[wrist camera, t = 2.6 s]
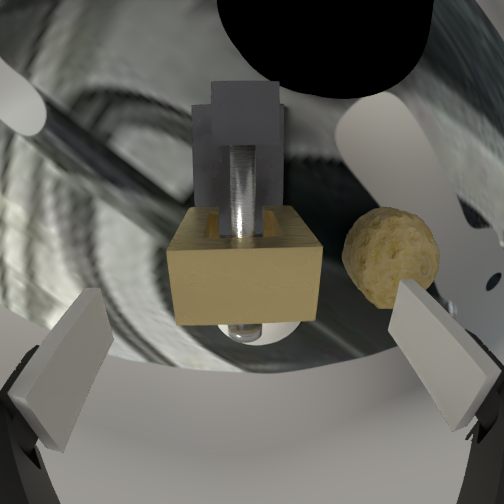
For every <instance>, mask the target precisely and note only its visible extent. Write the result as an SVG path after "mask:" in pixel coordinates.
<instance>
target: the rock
mask: <svg viewBox="0 0 504 504" xmlns="http://www.w3.org/2000/svg"><path fill="white" fill-rule="evenodd" d="M346 236H347V237H346V239H345V244H344V249H343V252H342V261H343V263H344V266H345V269H346V270H347V273H348V275H349V276H350V278H351V279H352V281H353V283H354V284H355V285H356V286H357V288H358V289H359V290H361V291H362V293H363V294H364V295H365V298H367V300H369V301H370V302H371V303H373V304H374V305H375V306H376V307H377V308H379V309H386V308H388V309H391V308H394V304H395V300H396V296H397V291H398V287H399V282H400V280H408V279H414V280H415V281H416V282H417V283H418V284H419V285H420V286H421V287H422V288H423V289H424V290H426V289H427V288H428V287H429V286H430V285H431V283H432V282H433V281H434V279H435V276H436V273H437V271H438V265H439V249H438V245H437V244H436V243H435V240H434V238H433V236H432V233H431V231H430V229H429V228H428V227H427V226H426V224H425V223H424V221H423V220H422V219H420V218H419V217H418V216H417V215H414V214H410V213H408V212H406V211H400V210H398V209H393V208H390V207H380V208H377V209H373V210H371V211H369V212H367V213H366V214H365V215H363V216H361V217H359V219H358V220H357V221H356V222H355V223H354V225H353V227H352V228H351V229H350V230H349V233H348V234H347V235H346Z"/></svg>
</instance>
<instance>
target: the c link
mask: <svg viewBox="0 0 504 504" xmlns="http://www.w3.org/2000/svg"><path fill="white" fill-rule="evenodd" d="M166 252H167V261H168V269H169V277H170V285H171V292H172V299H173V306H174V312H175V319H176V325H234V324H262V323H283V322H299V321H314V320H315V318H316V310H317V302H318V293H319V284H320V274H321V264H322V253H323V246H322V245H321V244H320V242H319V241H318V240H317V238H316V237H315V236H314V234H313V233H312V232H311V230H310V229H309V228H308V226H307V225H306V224H305V223H304V221H303V220H302V219H301V217H300V216H299V215H298V214H297V212H296V211H295V210H294V208H293V207H292V206H291V205H283V206H262V237H240V238H220V231H219V207H193V208H189V210H188V212H187V213H186V215H185V217H184V219H183V221H182V222H181V224H180V226H179V228H178V230H177V232H176V234H175V235H174V237H173V239H172V241H171V243H170V245H169V247H168V249H167V251H166Z"/></svg>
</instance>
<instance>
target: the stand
mask: <svg viewBox="0 0 504 504" xmlns="http://www.w3.org/2000/svg"><path fill="white" fill-rule="evenodd" d="M192 150H193V178H194V200H195V207H219V231H220V235H232V238H240V237H256V234H262V206H283V172H284V104H279V81H214V82H211V104H208V105H192ZM228 335H229V337H230V338H231V339H232V340H234V341H236V342H240V343H249V342H253V341H256V340H258V339H259V338H260V337H261V335H262V324H234V325H228Z"/></svg>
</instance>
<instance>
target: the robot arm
mask: <svg viewBox="0 0 504 504" xmlns="http://www.w3.org/2000/svg"><path fill="white" fill-rule="evenodd" d="M388 331H389V333H390V334H391V336H392V337H393V339H394V340H395V342H396V343H397V345H398V346H399V348H400V349H401V350H402V352H403V354H404V355H405V357H406V358H407V360H408V361H409V363H410V364H411V366H412V367H413V369H414V370H415V372H416V373H417V375H418V376H419V378H420V380H421V381H422V383H423V384H424V386H425V387H426V389H427V391H428V392H429V394H430V395H431V397H432V399H433V400H434V402H435V404H436V405H437V407H438V408H439V410H440V412H441V413H442V415H443V417H444V419H445V420H446V422H447V423H448V425H449V427H450V429H451V430H452V432H454V431H456V430H459V429H461V428H463V427H466V426H467V425H468V424H469V423H470V421H471V420H472V418H473V417H474V415H475V416H476V417H477V419H478V421H477V423H476V424H475V425H474V427H473V428H472V430H471V431H470V432H469V434H468V435H467V437H466V439H465V440H468V439H469V438H470V436H471V435H472V434H473V438H472V440H471V441H472V444H471V450H470V454H469V459H468V464H467V468H466V472H465V476H464V480H463V484H462V487H461V491H460V494H459V497H458V501H457V504H504V366H503V365H502V363H501V362H500V361H499V360H498V359H497V358H496V357H495V356H494V354H492V352H491V351H489V350H488V348H487V347H486V346H485V345H483V343H482V342H481V340H480V339H479V338H478V337H477V336H476V335H474V334H473V333H471V332H470V331H468V330H466V329H463V328H462V327H461V326H460V325H459V323H457V321H456V320H455V319H454V318H453V317H452V316H451V315H450V314H449V313H448V312H447V311H446V310H445V309H444V308H443V307H442V306H441V305H440V304H439V303H438V302H437V301H436V300H435V299H434V298H433V297H432V296H431V295H430V294H429V293H428V292H426V291H425V290H424V289H423V288H422V287H421V286H420V285H419V284H418V283H417V282H416V281H415V280H414V279H408V280H400V282H399V287H398V291H397V296H396V300H395V304H394V308H393V312H392V316H391V320H390V324H389V328H388ZM113 340H114V338H113V335H112V331H111V328H110V324H109V321H108V317H107V313H106V309H105V306H104V302H103V298H102V293H101V289H100V288H85V289H84V290H83V292H82V293H81V294H80V295H79V296H78V298H77V299H76V300H75V301H74V302H73V304H72V305H71V306H70V307H69V309H68V310H67V311H66V312H65V314H64V315H63V316H62V317H61V319H60V320H59V321H58V323H57V324H56V325H55V326H54V328H53V329H52V330H51V332H50V333H49V334H48V336H47V337H46V339H45V340H44V341H43V342H42V344H41V345H40V346H39V345H36V346H35V347H34V348H32V349H31V350H30V351H28V352H27V353H26V355H25V356H24V357H23V359H22V360H21V363H19V364H18V366H17V367H16V370H14V371H13V373H12V374H11V376H10V377H9V379H8V380H7V382H6V383H5V384H4V386H3V388H2V389H1V390H0V504H60V502H59V500H58V497H57V495H56V493H55V490H54V488H53V486H52V484H51V481H50V478H49V476H48V473H47V471H46V468H45V465H44V463H43V460H42V457H41V454H40V451H39V449H38V448H37V446H36V445H35V444H36V442H37V440H38V438H39V439H40V441H41V442H42V443H43V444H44V446H45V447H46V448H49V449H52V450H56V451H59V452H62V453H64V450H65V447H66V445H67V442H68V440H69V437H70V435H71V432H72V430H73V428H74V425H75V423H76V420H77V418H78V416H79V413H80V411H81V408H82V406H83V404H84V402H85V400H86V397H87V395H88V393H89V391H90V388H91V386H92V384H93V382H94V380H95V377H96V375H97V373H98V371H99V369H100V367H101V365H102V363H103V361H104V359H105V357H106V355H107V352H108V350H109V348H110V346H111V344H112V342H113Z"/></svg>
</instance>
